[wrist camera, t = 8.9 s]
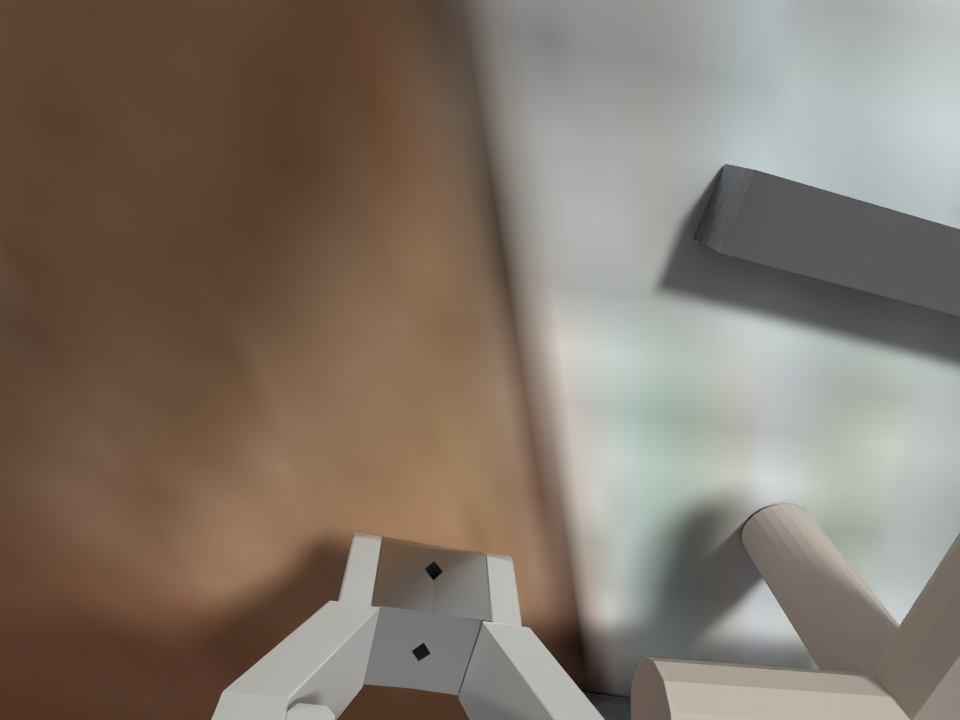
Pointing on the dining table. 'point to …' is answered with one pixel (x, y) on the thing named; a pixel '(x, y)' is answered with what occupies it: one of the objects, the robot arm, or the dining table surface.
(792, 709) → the pipe connector
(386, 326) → the dining table surface
